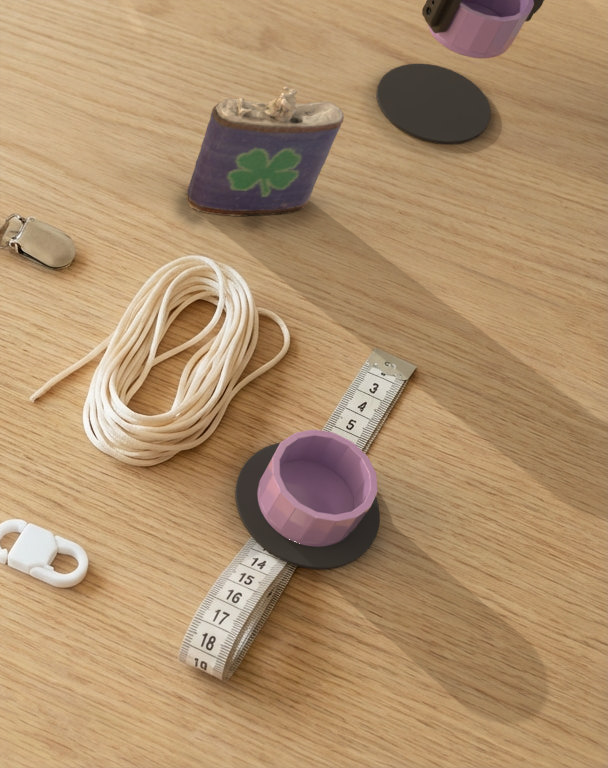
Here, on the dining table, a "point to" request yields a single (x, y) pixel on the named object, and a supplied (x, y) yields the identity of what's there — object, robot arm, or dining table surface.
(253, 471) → the disc
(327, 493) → the dish
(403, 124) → the coaster back
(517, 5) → the dish
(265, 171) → the flask
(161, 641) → the dining table surface
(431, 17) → the robot arm
